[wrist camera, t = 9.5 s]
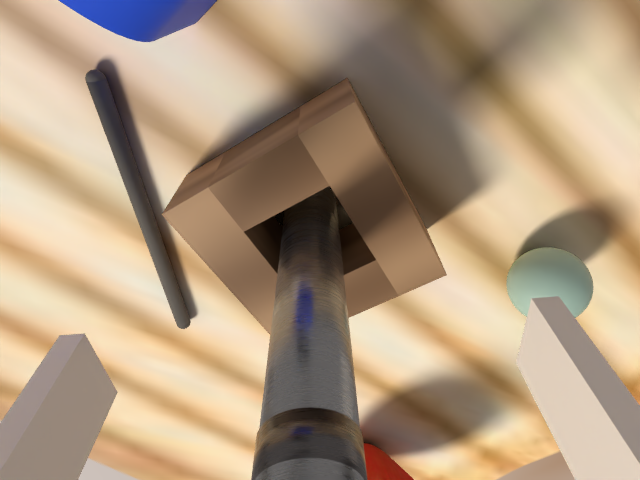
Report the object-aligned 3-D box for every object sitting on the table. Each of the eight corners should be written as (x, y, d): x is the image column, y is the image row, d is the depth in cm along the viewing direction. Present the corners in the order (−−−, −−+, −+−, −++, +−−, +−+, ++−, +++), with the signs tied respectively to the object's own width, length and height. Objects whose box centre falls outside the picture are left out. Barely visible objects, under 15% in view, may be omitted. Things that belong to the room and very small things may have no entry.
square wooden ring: (186, 175, 21) (161, 214, 17) (347, 78, 18) (355, 101, 15) (285, 296, 25) (281, 347, 22) (426, 229, 23) (446, 274, 19)
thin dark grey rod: (87, 68, 18) (79, 72, 17) (105, 67, 18) (97, 70, 17) (180, 322, 26) (176, 332, 25) (193, 321, 26) (190, 331, 25)
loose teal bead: (500, 236, 23) (532, 281, 20) (575, 229, 23) (621, 274, 19) (491, 293, 25) (519, 343, 22) (559, 287, 25) (598, 337, 22)
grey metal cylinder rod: (281, 182, 21) (234, 500, 8) (335, 177, 21) (370, 491, 8) (288, 228, 22) (257, 559, 10) (339, 224, 22) (373, 552, 10)
